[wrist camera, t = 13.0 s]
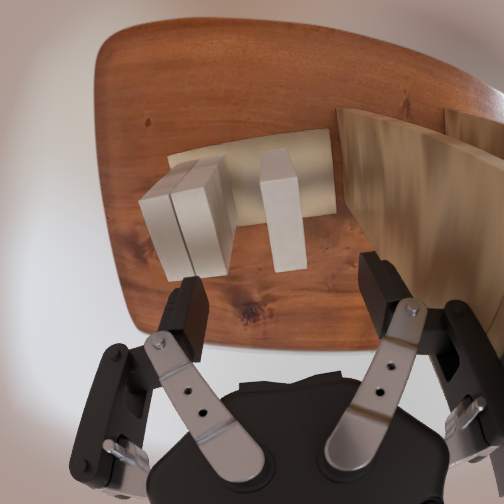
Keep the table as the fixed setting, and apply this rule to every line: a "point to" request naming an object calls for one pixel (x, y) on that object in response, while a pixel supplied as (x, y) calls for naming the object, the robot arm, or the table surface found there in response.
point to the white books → (228, 198)
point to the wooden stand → (433, 210)
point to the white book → (283, 210)
